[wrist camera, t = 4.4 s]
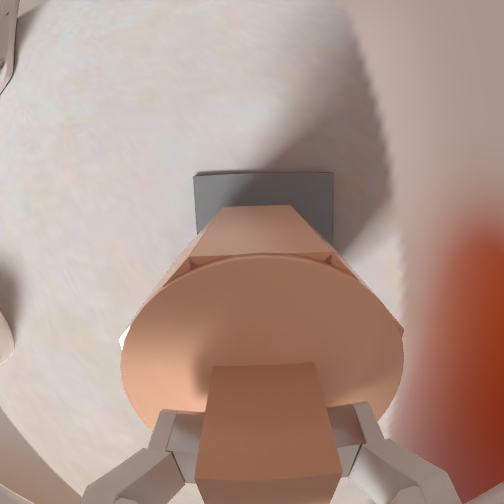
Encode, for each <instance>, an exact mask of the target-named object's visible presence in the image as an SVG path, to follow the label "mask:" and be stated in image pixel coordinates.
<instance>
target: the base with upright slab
mask: <svg viewBox="0 0 504 504" xmlns="http://www.w3.org/2000/svg"><path fill="white" fill-rule="evenodd" d="M13 353H14V340H13V336H12V333H11V330H10V328H9V325H8V323H7V321H6V320H5V318H4V316H3V314H2V313H1V312H0V366H1V365H2V364H3V363H4V362H5V361H6V360H7V359H8V358H10V357H11V356H12V354H13Z"/></svg>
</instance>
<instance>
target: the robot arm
mask: <svg viewBox="0 0 504 504" xmlns="http://www.w3.org/2000/svg"><path fill="white" fill-rule="evenodd" d="M19 1H20V0H0V93H1V92H2V90H3V89H4V88H5V86H6V85H7V83H8V82H9V80H10V78H11V76H12V73H13V61H14V42H15V31H16V21H17V14H18V7H19ZM326 409H327V412H328V416H329V420H330V423H331V427H332V431H333V435H334V439H335V443H336V446H337V450H338V454H339V458H340V462H341V466H342V470H343V473H342V475H341V478H342V477H348V478H349V479H350V480H351V481H352V482H353V483H354V484H355V485H357V486H358V487H359V488H360V489H361V490H362V491H363V492H364V493H365V494H367V495H368V496H369V497H370V498H371V499H372V500H373V501H375V502H376V503H377V504H462V503H461V501H460V499H459V497H458V495H457V493H456V491H455V489H454V486H453V484H452V482H451V480H450V478H449V476H448V474H447V472H445V471H443V470H441V469H440V468H438V467H436V466H434V465H433V464H430V463H429V462H427V461H425V460H424V459H422V458H420V457H419V456H417V455H415V454H414V453H412V452H410V451H409V450H407V449H405V448H404V447H402V446H400V445H399V444H397V443H395V442H394V441H392V440H391V439H384V437H383V434H382V432H381V430H380V427H379V425H378V423H377V420H376V418H375V416H374V413H373V411H372V409H371V406H370V404H369V403H368V402H367V401H365V402H359V403H353V404H345V405H339V406H332V407H326ZM204 415H205V412H195V411H183V410H171V409H162V410H161V411H160V412H159V415H158V418H157V421H156V424H155V427H154V430H153V433H152V436H151V439H150V442H149V445H148V448H147V449H146V448H142V449H141V450H139V451H138V452H137V453H135V454H134V455H132V456H131V457H130V458H128V459H127V460H125V461H124V462H123V463H121V464H120V465H118V466H117V467H115V468H114V469H113V470H111V471H110V472H108V473H107V474H105V475H104V476H102V477H101V478H99V479H98V480H96V481H95V482H93V483H91V484H90V485H88V486H87V487H86V490H85V492H84V495H83V497H82V500H81V502H80V504H167V503H168V502H169V501H170V500H171V499H172V498H173V497H174V496H175V495H176V494H177V493H178V491H179V490H180V489H181V488H182V487H183V486H184V485H185V483H193V484H196V482H195V479H194V475H195V469H196V463H197V457H198V451H199V445H200V439H201V433H202V427H203V421H204ZM0 504H35V503H32V502H31V501H29V500H27V499H25V498H23V497H21V496H20V495H18V494H16V493H15V492H13V491H11V490H9V489H8V488H6V487H5V486H3V485H1V484H0ZM465 504H504V481H503V482H502V483H500V484H499V485H497V486H495V487H494V488H492V489H490V490H489V491H487V492H485V493H484V494H482V495H480V496H479V497H477V498H475V499H473V500H471V501H469V502H467V503H465Z"/></svg>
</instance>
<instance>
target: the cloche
mask: <svg viewBox="0 0 504 504" xmlns="http://www.w3.org/2000/svg"><path fill="white" fill-rule="evenodd" d="M403 332H404V328H403V327H402V326H401V325H400V324H399V322H398V321H397V320H396V319H395V318H394V316H393V315H392V314H391V313H390V312H389V310H388V309H387V308H386V307H385V306H384V304H383V303H382V302H381V301H380V300H379V298H378V297H377V296H376V295H375V294H374V293H373V292H372V290H371V289H370V288H369V287H368V286H367V285H366V284H365V282H364V281H363V280H362V279H361V278H360V277H359V276H358V275H357V273H356V272H355V271H354V270H353V269H352V268H351V267H350V266H349V264H348V263H347V262H346V261H345V260H344V259H343V258H342V257H341V256H340V255H339V253H338V252H337V251H336V250H335V249H334V248H333V247H332V246H331V245H330V244H329V243H328V242H327V241H326V240H325V239H324V238H323V237H322V236H321V235H320V234H319V233H318V232H317V231H316V230H315V229H314V228H313V227H312V226H311V225H310V224H309V223H308V222H307V221H306V220H305V219H304V218H303V217H302V216H301V215H300V214H299V213H298V212H297V211H296V210H295V209H294V208H293V207H292V206H291V205H270V206H239V207H222V208H221V209H220V210H219V211H218V213H217V214H216V215H215V216H214V217H213V218H212V219H211V220H210V221H209V222H208V224H207V225H206V226H205V227H204V228H203V229H202V230H201V231H200V233H199V234H198V235H197V236H196V237H195V238H194V239H193V240H192V242H191V243H190V244H189V245H188V246H187V247H186V248H185V250H184V251H183V252H182V253H181V254H180V255H179V257H178V258H177V259H176V261H175V262H174V263H173V265H172V266H171V267H170V269H169V270H168V271H167V273H166V274H165V275H164V277H163V278H162V279H161V281H160V282H159V283H158V285H157V286H156V287H155V289H154V290H153V291H152V293H151V294H150V296H149V297H148V298H147V300H146V301H145V302H144V304H143V305H142V307H141V308H140V309H139V311H138V312H137V314H136V315H135V316H134V318H133V319H132V321H131V322H130V323H129V325H128V326H127V328H126V329H125V331H124V332H123V333H122V335H121V336H120V338H119V342H120V345H121V349H122V353H121V374H122V381H123V385H124V388H125V392H126V394H127V397H128V399H129V401H130V403H131V405H132V407H133V408H134V410H135V411H136V413H137V414H138V416H139V417H140V419H141V420H142V421H143V422H144V423H145V424H146V426H147V427H148V428H149V429H150V430H151V431H153V430H154V427H155V424H156V421H157V418H158V415H159V412H160V411H161V410H162V409H171V410H183V411H195V412H205V415H204V421H203V427H202V433H201V439H200V445H199V451H198V457H197V463H196V469H195V475H194V479H195V482H196V484H197V486H198V489H199V491H200V494H201V496H202V498H203V501H204V503H205V504H329V503H330V501H331V499H332V497H333V494H334V492H335V490H336V487H337V485H338V483H339V480H340V478H341V475H342V473H343V470H342V466H341V462H340V458H339V454H338V450H337V446H336V443H335V439H334V435H333V431H332V427H331V423H330V420H329V416H328V412H327V409H326V407H332V406H339V405H345V404H353V403H359V402H365V401H367V402H368V403H369V404H370V406H371V409H372V411H373V413H374V416H375V418H376V420H377V421H378V420H379V419H380V418H381V416H382V415H383V414H384V413H385V411H386V410H387V408H388V407H389V405H390V403H391V402H392V400H393V398H394V396H395V394H396V392H397V389H398V387H399V384H400V381H401V376H402V372H403V362H404V352H403V343H402V336H403Z"/></svg>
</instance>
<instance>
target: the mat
mask: <svg viewBox="0 0 504 504" xmlns="http://www.w3.org/2000/svg"><path fill="white" fill-rule="evenodd" d="M193 179H194V197H195V213H196V227H197V235H198V234H199V233H200V231H201V230H202V229H203V228H204V227H205V226H206V225H207V224H208V222H209V221H210V220H211V219H212V218H213V217H214V216H215V215H216V214H217V213H218V211H219V210H220V209H221V208H222V207H239V206H270V205H291V206H292V207H293V208H294V209H295V210H296V211H297V212H298V213H299V214H300V215H301V216H302V217H303V218H304V219H305V220H306V221H307V222H308V223H309V224H310V225H311V226H312V227H313V228H314V229H315V230H316V231H317V232H318V233H319V234H320V235H321V236H322V237H323V238H324V239H325V240H326V241H327V242H328V243H329V244H330V245H331V246H332V233H333V173H327V172H283V173H245V174H224V175H206V176H193Z"/></svg>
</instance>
